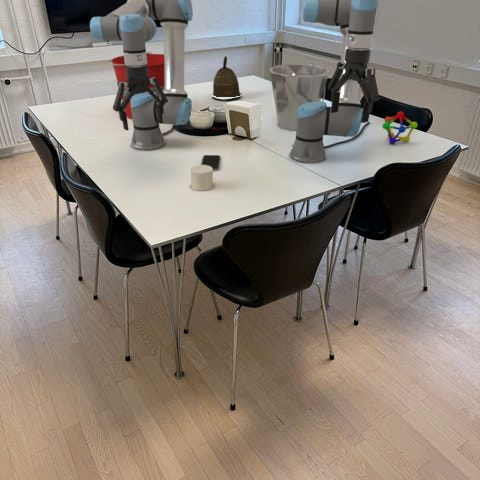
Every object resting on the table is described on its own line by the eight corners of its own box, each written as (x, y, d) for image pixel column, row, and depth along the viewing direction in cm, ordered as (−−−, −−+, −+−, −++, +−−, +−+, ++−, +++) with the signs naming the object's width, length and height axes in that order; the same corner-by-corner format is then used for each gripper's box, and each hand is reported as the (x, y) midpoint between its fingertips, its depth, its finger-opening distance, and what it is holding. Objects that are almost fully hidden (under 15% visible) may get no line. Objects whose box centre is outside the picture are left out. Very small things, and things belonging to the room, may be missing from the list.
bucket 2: (296, 138, 215) (301, 78, 201) (255, 124, 234) (256, 68, 219) (335, 125, 232) (342, 70, 217) (294, 113, 251) (297, 61, 236)
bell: (227, 105, 294) (202, 96, 282) (238, 66, 289) (213, 55, 277) (243, 108, 280) (217, 98, 268) (255, 66, 275) (229, 55, 263)
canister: (209, 191, 165) (208, 174, 161) (188, 189, 166) (187, 172, 163) (215, 182, 172) (215, 165, 168) (195, 180, 173) (194, 163, 169)
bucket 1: (125, 104, 265) (117, 50, 249) (183, 105, 264) (179, 51, 248) (108, 122, 236) (99, 62, 220) (174, 123, 235) (169, 63, 219)
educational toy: (377, 146, 209) (379, 114, 202) (384, 138, 219) (386, 107, 211) (411, 149, 202) (415, 116, 195) (417, 141, 212) (420, 109, 204)
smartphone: (200, 168, 181) (203, 155, 194) (200, 170, 182) (203, 156, 194) (218, 168, 181) (220, 155, 194) (218, 170, 182) (220, 156, 194)
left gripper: (104, 71, 142) (114, 135, 154) (174, 62, 154) (178, 122, 166) (96, 67, 148) (107, 129, 159) (164, 59, 160) (169, 117, 171)
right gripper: (321, 44, 143) (314, 110, 154) (382, 55, 126) (370, 128, 137) (337, 42, 147) (330, 106, 158) (399, 53, 129) (386, 124, 141)
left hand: (143, 126), depth 163 cm, fingers open, 13 cm apart
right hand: (348, 117), depth 148 cm, fingers open, 13 cm apart
